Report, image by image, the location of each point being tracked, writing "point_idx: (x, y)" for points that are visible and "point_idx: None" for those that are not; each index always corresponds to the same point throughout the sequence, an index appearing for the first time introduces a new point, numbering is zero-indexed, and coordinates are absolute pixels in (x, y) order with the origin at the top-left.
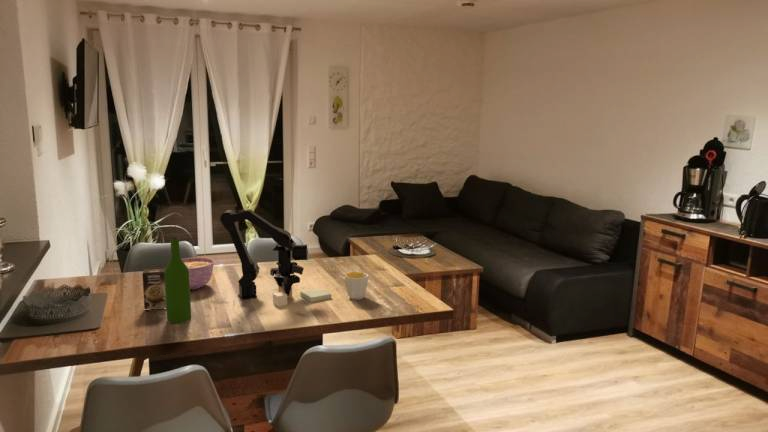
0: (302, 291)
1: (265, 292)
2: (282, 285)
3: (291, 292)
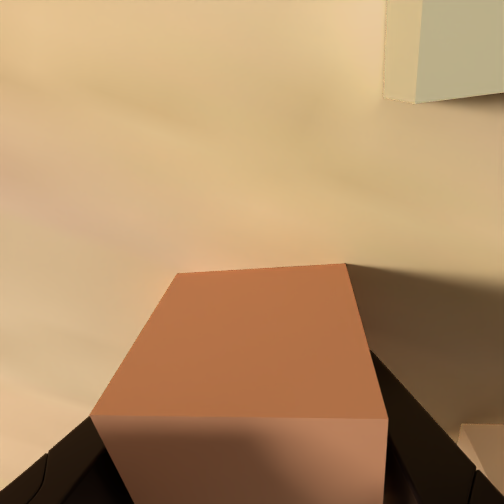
0: (438, 33)
1: (33, 437)
2: (117, 501)
3: (359, 327)
